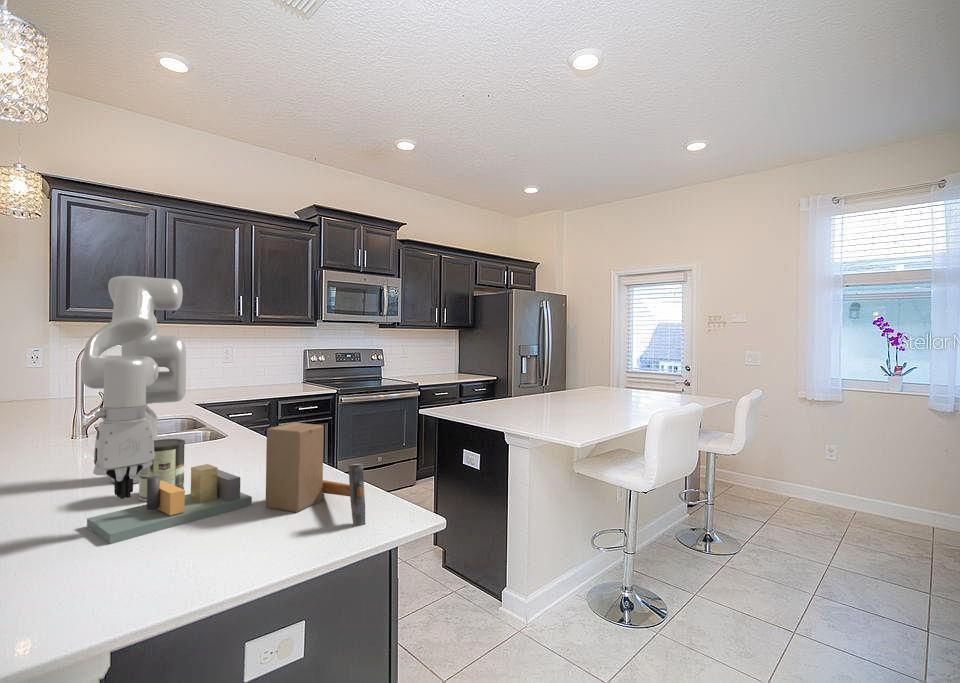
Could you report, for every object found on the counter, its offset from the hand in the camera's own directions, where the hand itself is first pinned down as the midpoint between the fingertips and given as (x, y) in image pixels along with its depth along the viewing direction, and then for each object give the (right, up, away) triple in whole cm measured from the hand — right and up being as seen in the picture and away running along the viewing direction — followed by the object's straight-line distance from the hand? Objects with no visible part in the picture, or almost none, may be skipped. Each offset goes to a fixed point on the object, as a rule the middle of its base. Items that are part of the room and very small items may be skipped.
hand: (123, 496), depth 106 cm
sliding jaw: (+4, -5, +6) cm, 9 cm away
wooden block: (+31, -8, +18) cm, 36 cm away
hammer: (+42, -8, +17) cm, 46 cm away
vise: (+6, -7, +9) cm, 13 cm away
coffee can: (-6, -7, +22) cm, 24 cm away
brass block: (+10, -5, +14) cm, 18 cm away
